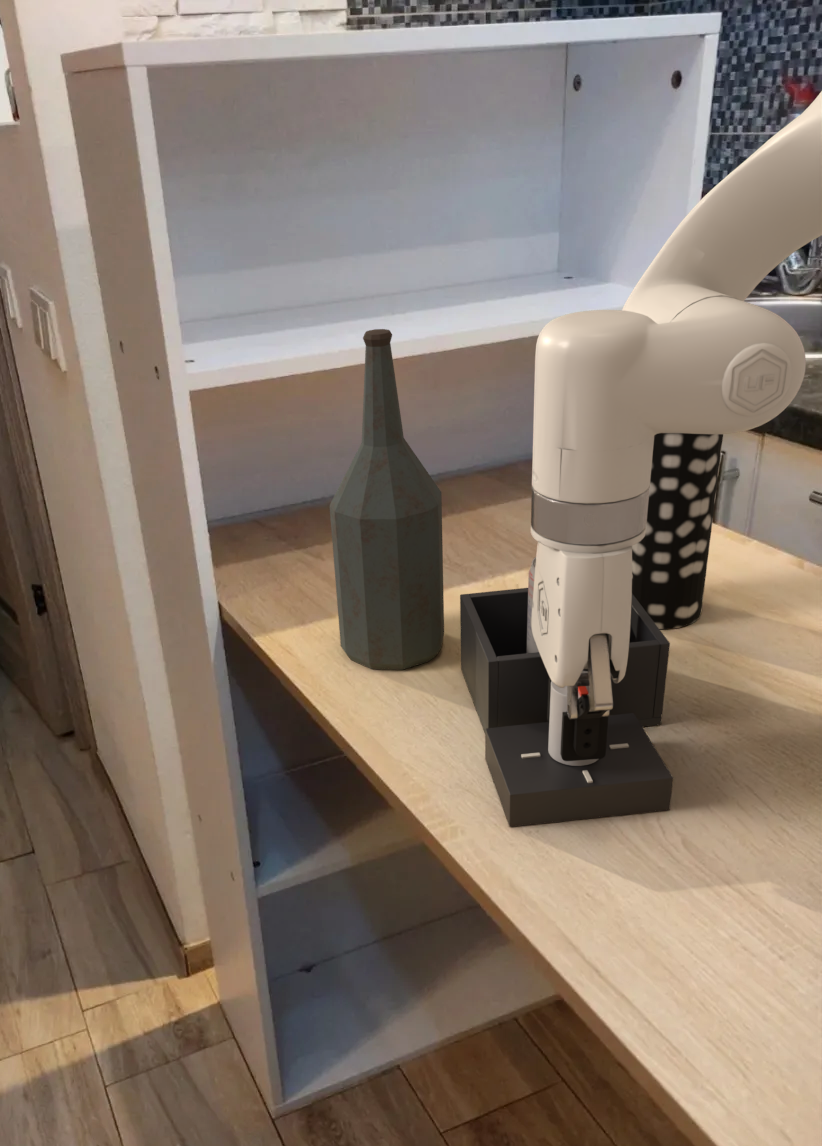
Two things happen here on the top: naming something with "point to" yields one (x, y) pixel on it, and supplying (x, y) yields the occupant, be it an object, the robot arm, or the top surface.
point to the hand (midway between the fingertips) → (575, 737)
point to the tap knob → (555, 722)
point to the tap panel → (576, 775)
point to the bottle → (387, 534)
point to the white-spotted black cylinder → (677, 528)
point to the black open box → (520, 680)
